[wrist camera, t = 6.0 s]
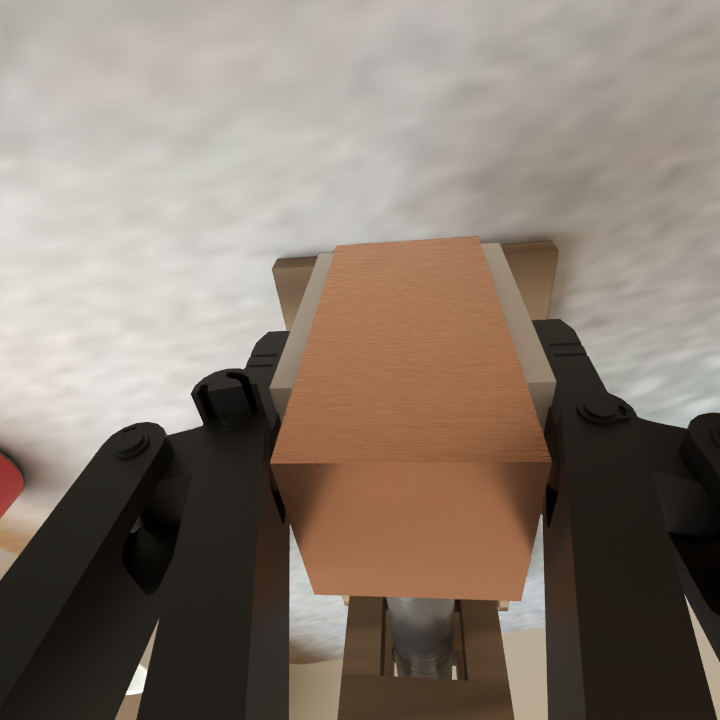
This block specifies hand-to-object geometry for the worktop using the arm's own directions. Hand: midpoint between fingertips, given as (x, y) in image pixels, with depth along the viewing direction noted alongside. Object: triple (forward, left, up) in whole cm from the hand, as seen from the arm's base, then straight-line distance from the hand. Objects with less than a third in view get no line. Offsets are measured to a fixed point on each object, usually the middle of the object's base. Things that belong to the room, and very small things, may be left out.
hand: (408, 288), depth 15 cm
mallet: (+9, 0, +1) cm, 9 cm away
